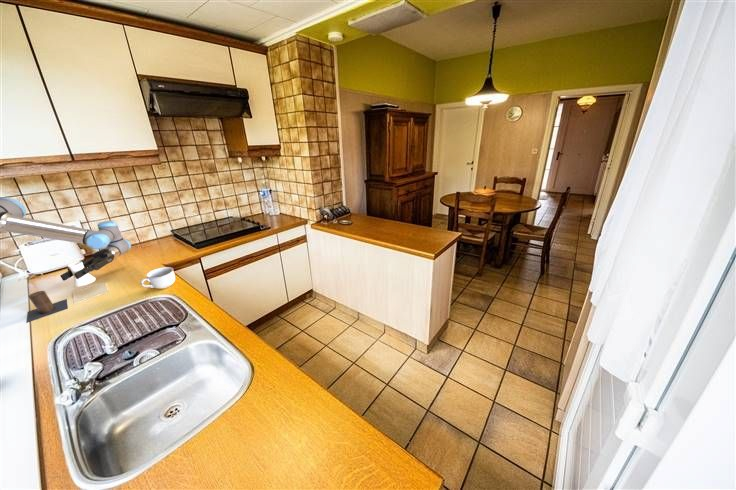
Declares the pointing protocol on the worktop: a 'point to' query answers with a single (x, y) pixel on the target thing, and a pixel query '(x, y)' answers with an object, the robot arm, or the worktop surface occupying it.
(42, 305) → the pepper shaker
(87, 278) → the vase
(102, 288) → the cream mat
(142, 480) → the worktop surface
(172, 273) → the teacup
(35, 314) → the slate mat
